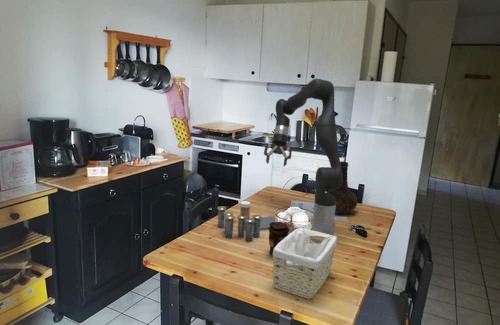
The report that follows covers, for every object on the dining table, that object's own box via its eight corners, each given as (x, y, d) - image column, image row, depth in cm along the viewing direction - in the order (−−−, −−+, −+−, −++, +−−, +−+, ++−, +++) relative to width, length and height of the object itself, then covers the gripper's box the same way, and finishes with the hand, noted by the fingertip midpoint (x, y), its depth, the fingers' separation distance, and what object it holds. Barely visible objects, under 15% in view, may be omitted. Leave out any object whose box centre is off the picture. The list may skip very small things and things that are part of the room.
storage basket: (294, 260, 144) (297, 225, 141) (335, 272, 137) (339, 235, 134) (268, 288, 124) (270, 248, 121) (314, 304, 116) (318, 262, 113)
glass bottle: (358, 209, 207) (364, 161, 201) (353, 219, 191) (359, 167, 185) (326, 204, 214) (331, 157, 208) (319, 213, 198) (324, 162, 192)
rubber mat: (284, 227, 176) (284, 225, 176) (259, 230, 171) (259, 228, 171) (272, 218, 188) (272, 216, 188) (249, 220, 183) (249, 218, 183)
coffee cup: (262, 251, 150) (264, 221, 148) (280, 248, 154) (282, 219, 151) (272, 261, 143) (274, 230, 140) (290, 258, 146) (293, 227, 143)
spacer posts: (264, 240, 161) (266, 220, 158) (229, 244, 155) (230, 223, 153) (247, 222, 180) (248, 204, 178) (215, 225, 174) (216, 206, 172)
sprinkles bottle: (246, 232, 168) (248, 204, 165) (237, 230, 170) (238, 202, 167) (250, 229, 172) (251, 201, 170) (241, 227, 174) (242, 200, 171)
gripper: (267, 131, 191) (262, 160, 187) (294, 134, 190) (289, 164, 186) (267, 135, 199) (262, 164, 194) (293, 139, 197) (289, 168, 193)
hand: (275, 164), depth 190 cm, fingers open, 8 cm apart
